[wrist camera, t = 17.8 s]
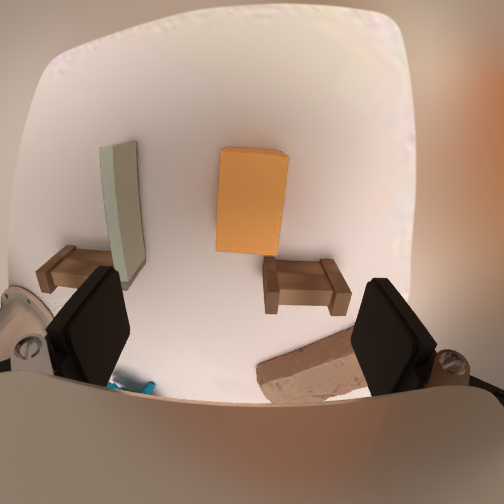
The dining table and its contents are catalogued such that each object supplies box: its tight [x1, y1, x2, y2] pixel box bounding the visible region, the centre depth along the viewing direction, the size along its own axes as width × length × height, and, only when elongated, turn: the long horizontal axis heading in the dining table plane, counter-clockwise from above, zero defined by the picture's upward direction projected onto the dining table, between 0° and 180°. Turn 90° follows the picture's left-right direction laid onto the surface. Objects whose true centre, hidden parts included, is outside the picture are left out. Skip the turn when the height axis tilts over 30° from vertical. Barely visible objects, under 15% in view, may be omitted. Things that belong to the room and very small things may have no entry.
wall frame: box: [36, 245, 352, 316], centre depth 26 cm, size 30×2×6 cm, turn 87°
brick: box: [256, 326, 368, 404], centre depth 34 cm, size 16×8×5 cm, turn 117°
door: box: [100, 142, 146, 291], centre depth 24 cm, size 13×2×5 cm, turn 178°
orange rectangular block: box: [216, 147, 289, 256], centre depth 24 cm, size 5×8×5 cm, turn 175°
